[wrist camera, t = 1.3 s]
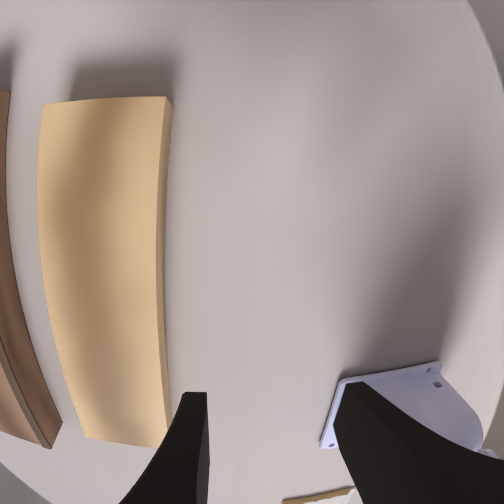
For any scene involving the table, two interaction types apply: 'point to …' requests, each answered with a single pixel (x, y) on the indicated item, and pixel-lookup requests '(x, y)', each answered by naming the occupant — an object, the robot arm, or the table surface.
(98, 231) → the oak plank
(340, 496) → the baseboard
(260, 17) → the table surface
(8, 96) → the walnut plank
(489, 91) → the table surface
